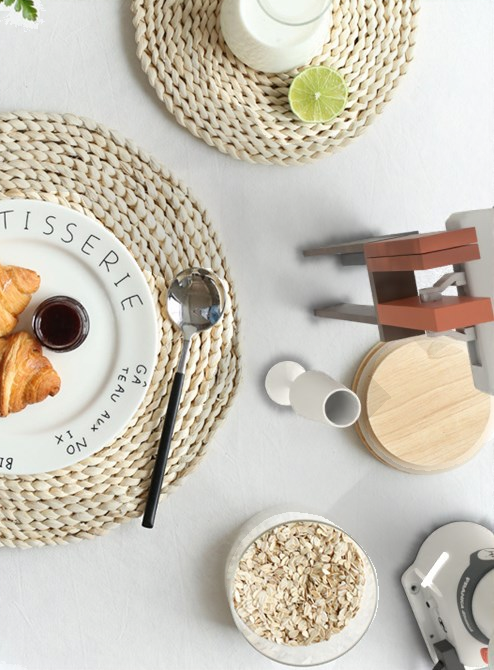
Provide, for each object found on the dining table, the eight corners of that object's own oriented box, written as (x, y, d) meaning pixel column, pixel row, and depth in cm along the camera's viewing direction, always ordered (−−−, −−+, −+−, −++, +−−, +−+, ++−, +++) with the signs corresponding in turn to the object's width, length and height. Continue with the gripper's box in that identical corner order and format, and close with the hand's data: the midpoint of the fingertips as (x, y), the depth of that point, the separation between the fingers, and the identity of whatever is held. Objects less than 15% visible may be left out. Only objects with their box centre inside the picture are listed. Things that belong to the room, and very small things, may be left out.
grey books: (380, 258, 124) (423, 255, 109) (342, 266, 123) (379, 264, 109) (376, 236, 124) (418, 230, 109) (338, 243, 123) (375, 239, 109)
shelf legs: (346, 309, 124) (417, 317, 99) (314, 316, 123) (377, 325, 99) (334, 244, 123) (402, 235, 99) (302, 250, 123) (362, 243, 99)
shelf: (424, 332, 99) (496, 343, 83) (376, 342, 99) (439, 354, 82) (406, 234, 99) (475, 225, 82) (358, 243, 99) (417, 236, 82)
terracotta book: (428, 314, 97) (494, 320, 82) (379, 324, 97) (437, 332, 82) (424, 294, 97) (490, 297, 82) (375, 304, 97) (433, 308, 82)
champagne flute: (255, 382, 123) (303, 406, 99) (288, 351, 123) (343, 368, 99) (285, 414, 123) (340, 447, 99) (318, 384, 124) (380, 408, 100)
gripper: (546, 192, 86) (420, 216, 85) (580, 383, 87) (455, 409, 86) (513, 197, 93) (395, 220, 92) (545, 376, 93) (428, 400, 92)
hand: (424, 313), depth 89 cm, fingers closed on terracotta book, 2 cm apart
